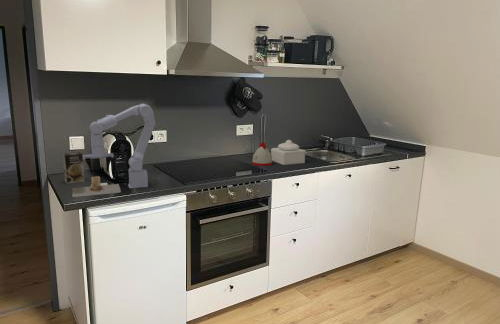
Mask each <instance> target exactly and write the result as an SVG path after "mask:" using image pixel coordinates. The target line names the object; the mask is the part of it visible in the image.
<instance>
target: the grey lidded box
mask: <svg viewBox="0 0 500 324" xmlns="http://www.w3.org/2000/svg"><path fill="white" fill-rule="evenodd" d="M306 152H307V151H306V150H305V149H303V148H302V149H301V148H300V146H299V145H298V144H296V143H294V142H293V141H292V140H290V139H287V140H286V141H285V142H283V143H280V144H278V146H277V147H272V148H271V149H270V154H272V162H274V163H278V164H280V165H282V166H286V165H288V166H289V165H297V164H305V163H306Z"/></svg>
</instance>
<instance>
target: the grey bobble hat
mask: <svg viewBox="0 0 500 324" xmlns="http://www.w3.org/2000/svg"><path fill="white" fill-rule="evenodd" d="M251 162H252V163H251V164H252V165H254V166H258V167H259V166H260V167H266V166H267V167H268V166H272V165H273V161H272V154H271V151H270V150H269V148H267V145H266V143H265V142H263V141H262V142H261V143H260V144H259V147H258V148H257V149H256V150H255V152H254V153H253V154H252V161H251Z"/></svg>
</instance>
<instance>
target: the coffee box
mask: <svg viewBox="0 0 500 324" xmlns="http://www.w3.org/2000/svg"><path fill="white" fill-rule="evenodd" d="M83 155H84V154H83V153H82V152H68V153H67V152H66V153H62V161H63V173H64V175H63V176H64V182H65V183H66V185H69V184H71V185H72V184H76V183H77V184H79V183H83V182H84V183H85V182H86V181H85V168H84V166H85V165H84V160H83Z"/></svg>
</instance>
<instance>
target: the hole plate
mask: <svg viewBox="0 0 500 324" xmlns="http://www.w3.org/2000/svg"><path fill="white" fill-rule="evenodd" d="M119 193H122V191H121V187H120V185H119V183H116V184H115V183H114V184H108V185H101V190H92V186H91V185H90V186H81V187H72V198H78V197H80V198H81V197H88V196H90V197H91V196H99V195H107V194H108V195H110V194H119Z"/></svg>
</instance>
